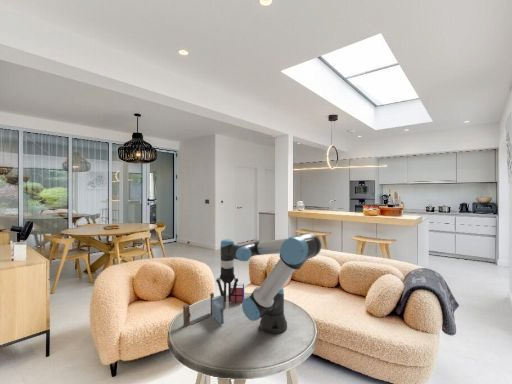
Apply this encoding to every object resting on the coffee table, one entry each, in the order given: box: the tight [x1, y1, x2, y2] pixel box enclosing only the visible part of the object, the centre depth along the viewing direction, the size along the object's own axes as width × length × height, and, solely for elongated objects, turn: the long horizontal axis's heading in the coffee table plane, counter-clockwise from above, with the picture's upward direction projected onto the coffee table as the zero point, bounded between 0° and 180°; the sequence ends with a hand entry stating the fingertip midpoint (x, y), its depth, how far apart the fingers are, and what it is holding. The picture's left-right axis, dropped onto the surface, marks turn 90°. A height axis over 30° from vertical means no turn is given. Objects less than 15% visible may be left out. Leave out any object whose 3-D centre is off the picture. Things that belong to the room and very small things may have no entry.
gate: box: [212, 297, 225, 325], centre depth 164 cm, size 14×2×10 cm, turn 28°
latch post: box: [182, 303, 191, 328], centre depth 158 cm, size 3×3×12 cm
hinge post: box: [209, 292, 215, 316], centre depth 172 cm, size 2×2×13 cm
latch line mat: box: [190, 312, 213, 326], centre depth 165 cm, size 4×15×1 cm, turn 138°
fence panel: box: [214, 289, 226, 311], centre depth 176 cm, size 2×8×12 cm, turn 138°
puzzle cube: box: [227, 282, 245, 304], centre depth 193 cm, size 10×10×10 cm
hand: (227, 307), depth 161 cm, fingers closed
